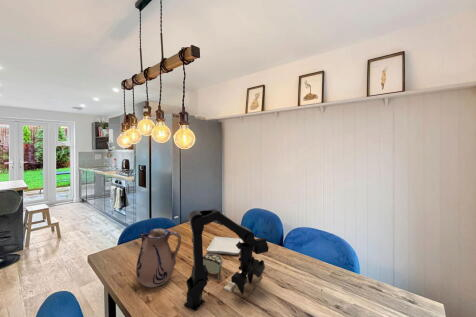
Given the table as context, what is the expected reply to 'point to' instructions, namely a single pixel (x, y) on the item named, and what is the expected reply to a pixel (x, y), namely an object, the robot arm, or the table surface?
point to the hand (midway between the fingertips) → (246, 288)
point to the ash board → (231, 286)
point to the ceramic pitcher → (156, 257)
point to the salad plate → (224, 245)
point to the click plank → (248, 287)
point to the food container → (213, 265)
